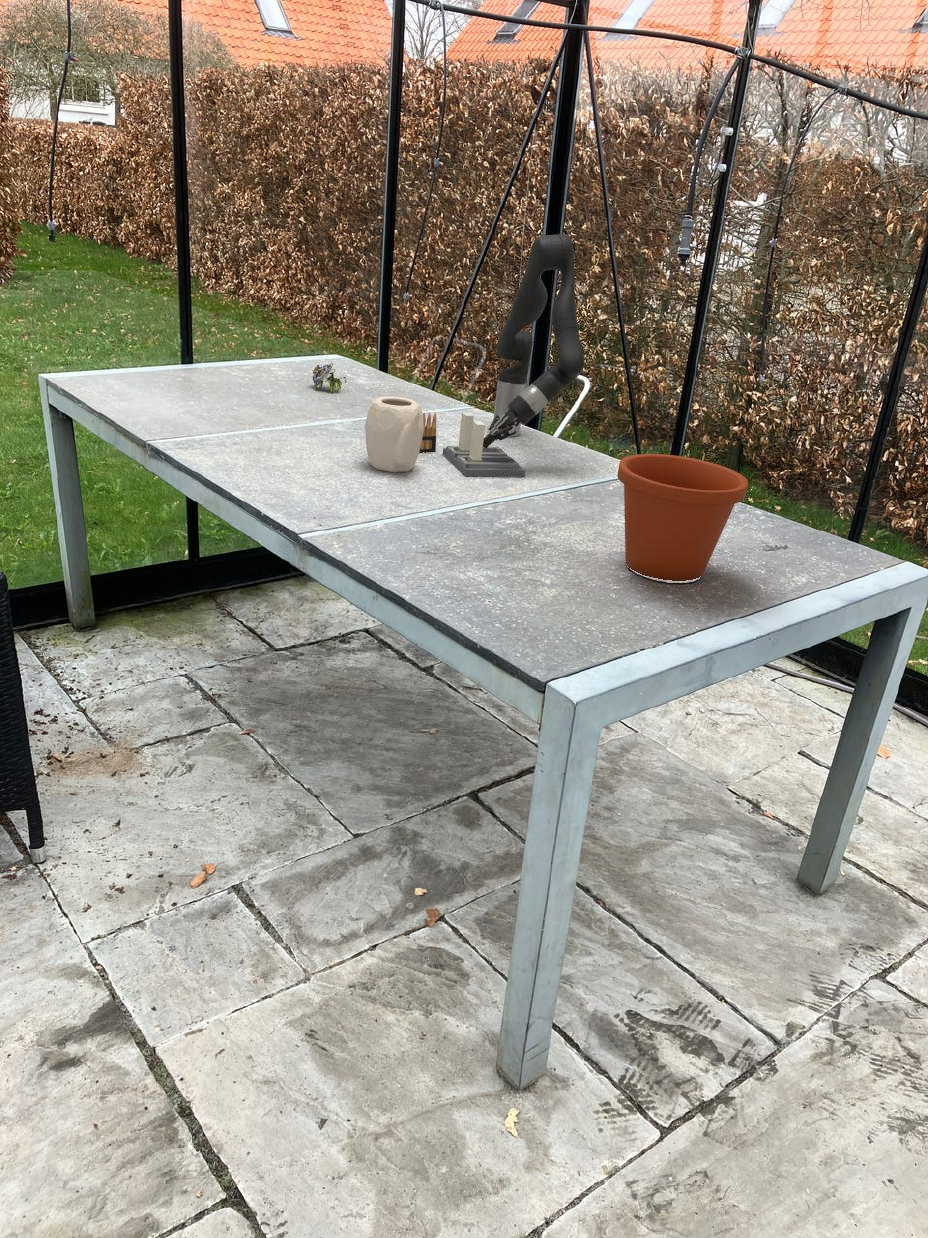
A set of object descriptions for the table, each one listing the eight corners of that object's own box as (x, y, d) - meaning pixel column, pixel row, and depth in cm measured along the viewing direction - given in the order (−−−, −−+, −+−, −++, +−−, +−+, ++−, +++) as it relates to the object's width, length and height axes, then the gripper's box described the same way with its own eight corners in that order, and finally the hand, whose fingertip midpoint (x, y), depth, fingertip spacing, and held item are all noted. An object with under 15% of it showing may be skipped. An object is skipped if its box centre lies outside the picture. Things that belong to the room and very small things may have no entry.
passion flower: (316, 404, 355) (303, 373, 355) (342, 397, 360) (329, 367, 360) (326, 393, 345) (313, 361, 345) (353, 386, 350) (340, 355, 350)
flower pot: (577, 561, 221) (593, 462, 212) (648, 539, 240) (666, 448, 230) (680, 605, 204) (703, 499, 194) (748, 578, 223) (772, 481, 213)
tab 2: (467, 460, 279) (471, 421, 274) (477, 460, 280) (481, 421, 275) (471, 464, 276) (476, 424, 271) (481, 464, 277) (486, 424, 272)
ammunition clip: (403, 453, 287) (406, 413, 282) (400, 451, 289) (403, 411, 284) (435, 452, 292) (439, 413, 287) (433, 450, 294) (436, 411, 289)
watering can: (388, 484, 258) (393, 414, 250) (349, 456, 279) (353, 390, 271) (440, 481, 265) (446, 413, 258) (398, 454, 286) (403, 390, 278)
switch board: (442, 454, 291) (443, 443, 290) (498, 455, 297) (499, 444, 295) (465, 476, 272) (466, 464, 271) (524, 477, 278) (526, 465, 277)
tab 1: (456, 450, 288) (460, 412, 283) (466, 450, 289) (470, 412, 284) (460, 454, 284) (465, 415, 279) (470, 454, 285) (474, 415, 280)
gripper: (512, 388, 279) (467, 430, 280) (529, 399, 268) (482, 442, 269) (526, 407, 283) (482, 448, 284) (544, 419, 272) (498, 461, 273)
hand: (482, 445), depth 276 cm, fingers closed
